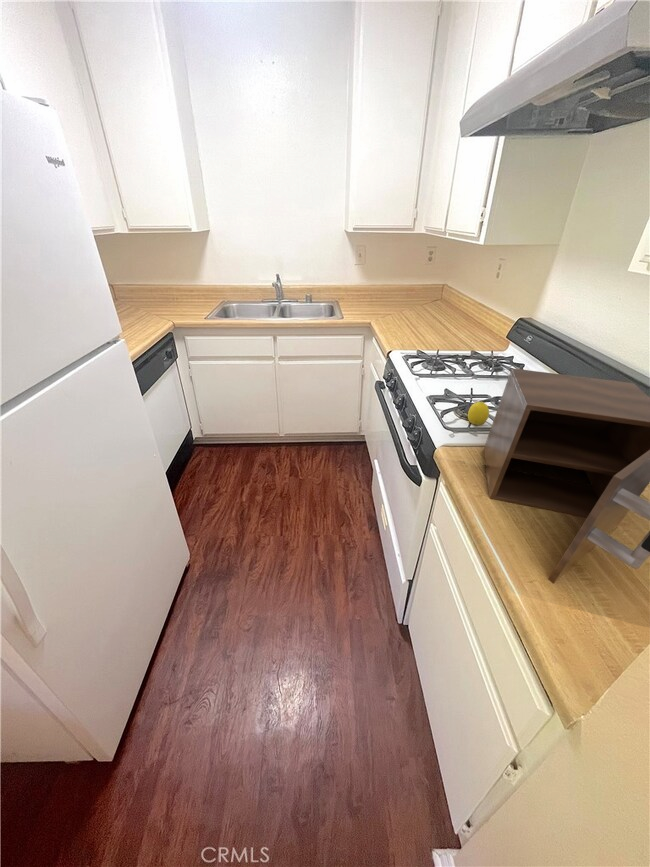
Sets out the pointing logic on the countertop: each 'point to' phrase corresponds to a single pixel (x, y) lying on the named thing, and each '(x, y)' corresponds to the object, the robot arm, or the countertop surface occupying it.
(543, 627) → the countertop surface
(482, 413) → the lemon
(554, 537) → the countertop surface
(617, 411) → the cupboard
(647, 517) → the door
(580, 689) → the countertop surface
